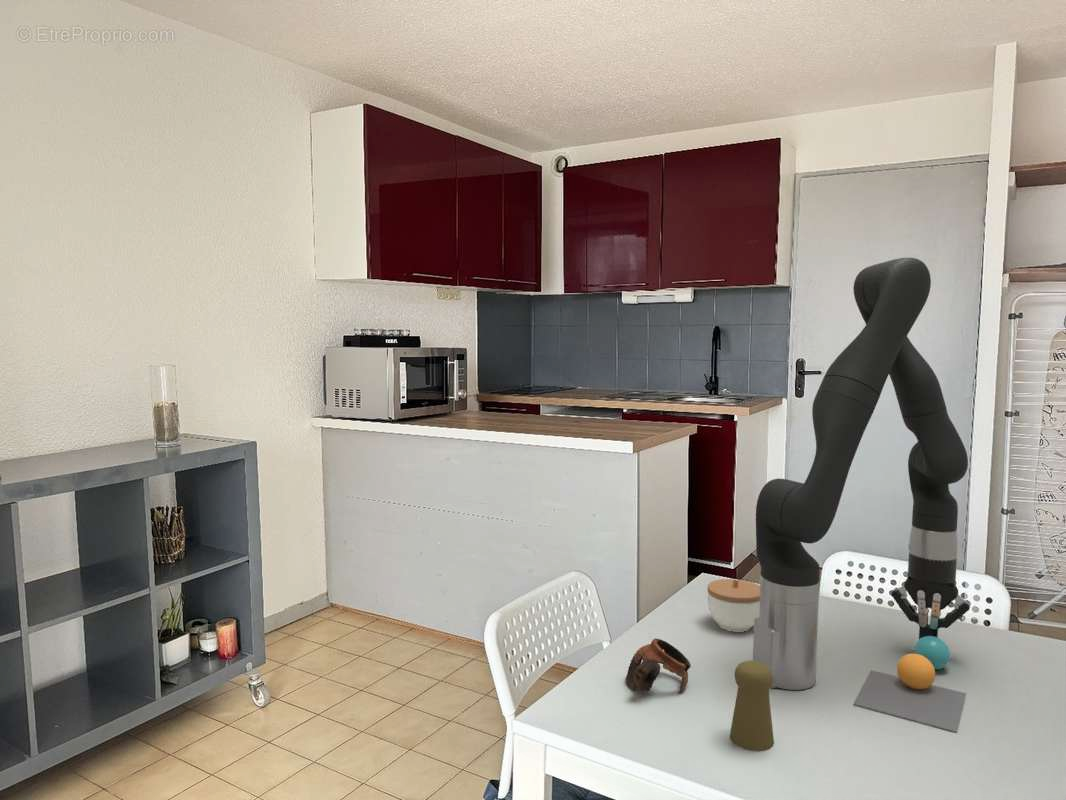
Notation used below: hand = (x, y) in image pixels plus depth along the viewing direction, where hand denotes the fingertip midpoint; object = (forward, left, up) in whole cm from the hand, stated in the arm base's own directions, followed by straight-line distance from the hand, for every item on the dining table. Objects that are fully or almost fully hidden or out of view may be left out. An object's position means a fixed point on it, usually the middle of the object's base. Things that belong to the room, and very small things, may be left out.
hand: (927, 646), depth 133 cm
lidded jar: (-28, +19, -2) cm, 34 cm away
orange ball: (-11, -10, +1) cm, 15 cm away
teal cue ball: (-3, -5, +1) cm, 6 cm away
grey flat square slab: (-15, -14, -2) cm, 20 cm away
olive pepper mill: (-45, -19, -2) cm, 49 cm away
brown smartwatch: (-53, -1, -2) cm, 53 cm away
